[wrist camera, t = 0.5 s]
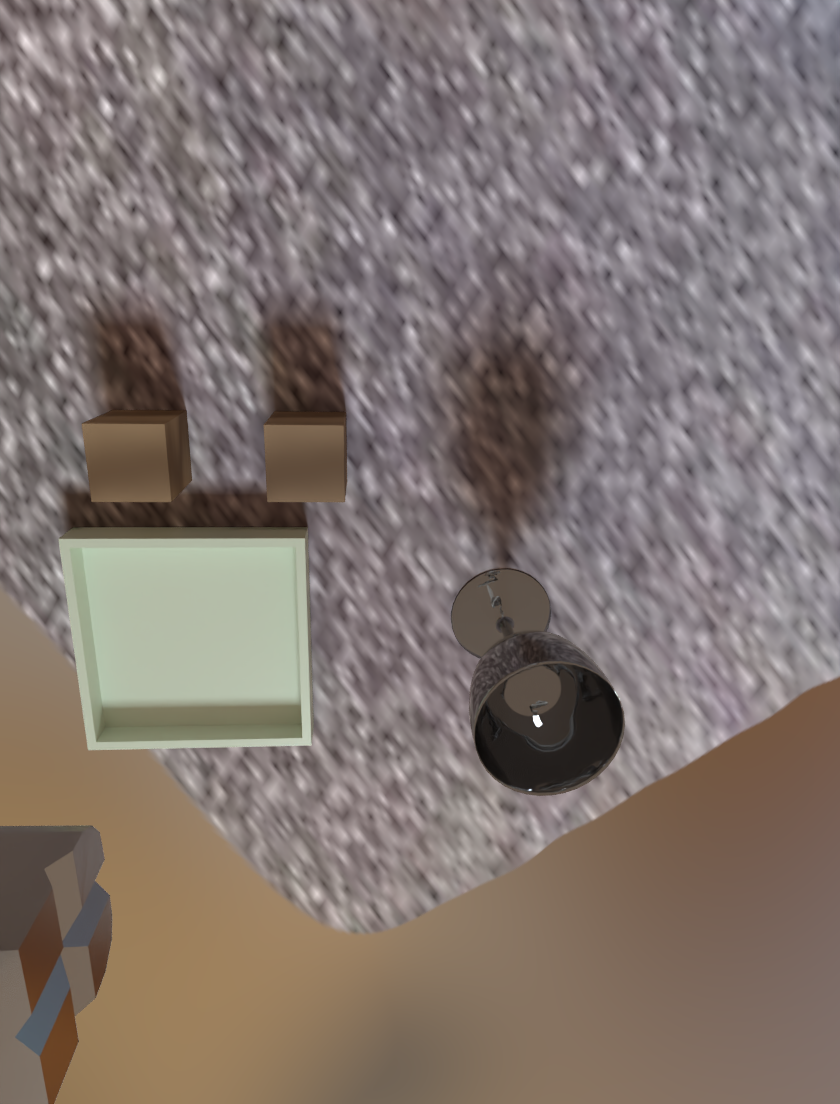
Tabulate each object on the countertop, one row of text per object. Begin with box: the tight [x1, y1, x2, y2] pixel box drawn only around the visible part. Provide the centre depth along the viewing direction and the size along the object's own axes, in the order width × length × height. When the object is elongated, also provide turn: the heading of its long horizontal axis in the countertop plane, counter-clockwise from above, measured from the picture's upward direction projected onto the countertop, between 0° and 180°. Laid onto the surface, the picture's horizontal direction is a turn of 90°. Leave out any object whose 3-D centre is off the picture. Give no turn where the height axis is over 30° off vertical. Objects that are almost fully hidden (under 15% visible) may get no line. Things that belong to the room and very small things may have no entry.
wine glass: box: [451, 569, 625, 796], centre depth 46 cm, size 8×8×15 cm
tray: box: [59, 527, 314, 750], centre depth 51 cm, size 15×15×2 cm
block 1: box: [82, 410, 192, 502], centre depth 45 cm, size 4×4×6 cm
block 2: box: [264, 411, 347, 502], centre depth 46 cm, size 4×4×6 cm
